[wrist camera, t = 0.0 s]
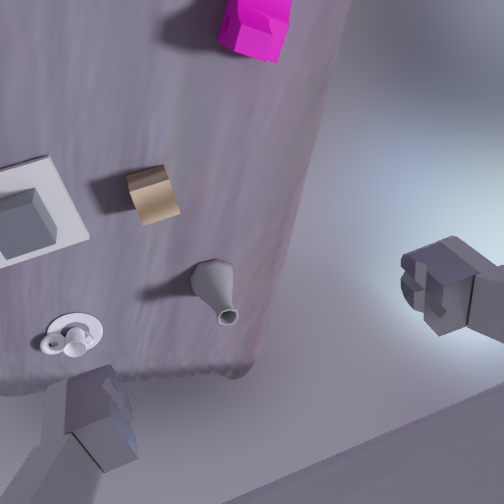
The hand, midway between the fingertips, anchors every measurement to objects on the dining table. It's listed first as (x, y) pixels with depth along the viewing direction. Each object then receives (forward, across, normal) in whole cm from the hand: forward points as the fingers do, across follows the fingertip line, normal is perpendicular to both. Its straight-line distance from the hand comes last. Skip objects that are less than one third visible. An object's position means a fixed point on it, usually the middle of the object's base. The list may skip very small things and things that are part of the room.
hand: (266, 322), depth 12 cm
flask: (+48, -1, +35) cm, 59 cm away
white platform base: (+47, +19, +15) cm, 53 cm away
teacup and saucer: (+48, +23, +34) cm, 63 cm away
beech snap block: (+47, +3, +17) cm, 51 cm away
